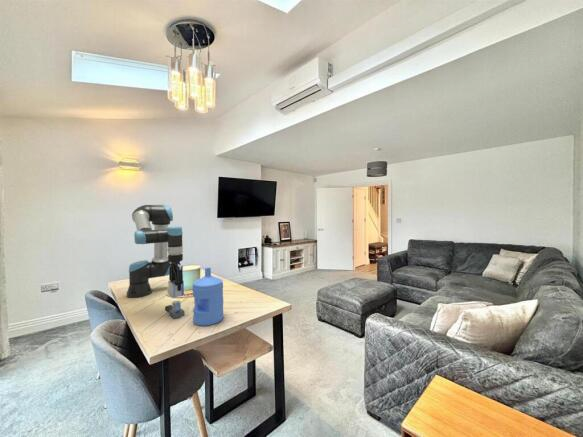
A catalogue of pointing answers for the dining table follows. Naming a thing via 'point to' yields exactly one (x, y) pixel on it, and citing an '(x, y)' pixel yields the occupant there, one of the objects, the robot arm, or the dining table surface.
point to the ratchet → (175, 310)
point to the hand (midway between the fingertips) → (176, 294)
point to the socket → (174, 288)
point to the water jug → (208, 300)
